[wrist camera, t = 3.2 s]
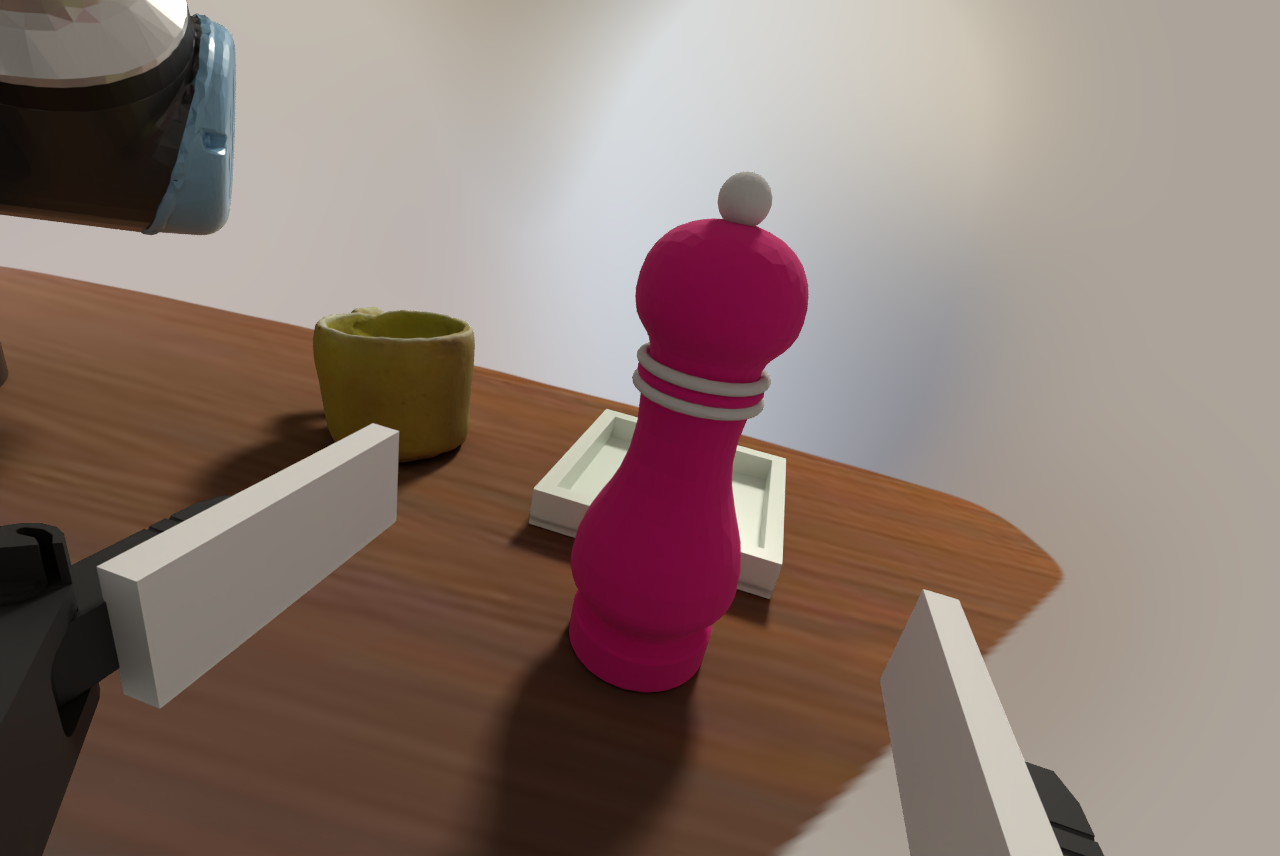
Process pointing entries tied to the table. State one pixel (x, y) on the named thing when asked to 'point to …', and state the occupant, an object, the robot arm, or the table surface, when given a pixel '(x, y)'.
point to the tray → (601, 455)
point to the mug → (397, 377)
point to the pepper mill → (685, 444)
